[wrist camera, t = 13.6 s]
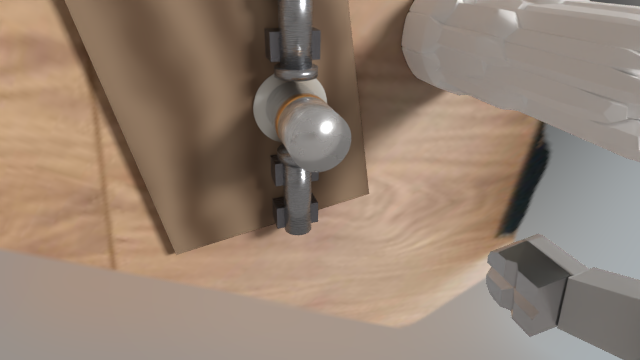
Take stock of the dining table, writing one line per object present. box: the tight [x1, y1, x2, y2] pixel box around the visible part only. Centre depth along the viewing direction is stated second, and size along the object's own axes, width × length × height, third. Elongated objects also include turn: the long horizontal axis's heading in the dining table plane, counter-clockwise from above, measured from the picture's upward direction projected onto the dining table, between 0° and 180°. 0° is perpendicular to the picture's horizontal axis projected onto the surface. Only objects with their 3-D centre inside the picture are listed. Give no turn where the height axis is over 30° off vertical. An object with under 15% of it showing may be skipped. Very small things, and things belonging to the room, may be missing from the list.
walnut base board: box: [64, 0, 369, 255], centre depth 39 cm, size 22×26×2 cm
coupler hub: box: [266, 82, 351, 172], centre depth 35 cm, size 5×5×9 cm
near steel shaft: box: [264, 0, 321, 81], centre depth 34 cm, size 9×4×4 cm, turn 179°
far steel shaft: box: [270, 144, 319, 235], centre depth 41 cm, size 9×4×4 cm, turn 179°
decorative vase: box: [401, 0, 640, 162], centre depth 32 cm, size 11×11×25 cm
